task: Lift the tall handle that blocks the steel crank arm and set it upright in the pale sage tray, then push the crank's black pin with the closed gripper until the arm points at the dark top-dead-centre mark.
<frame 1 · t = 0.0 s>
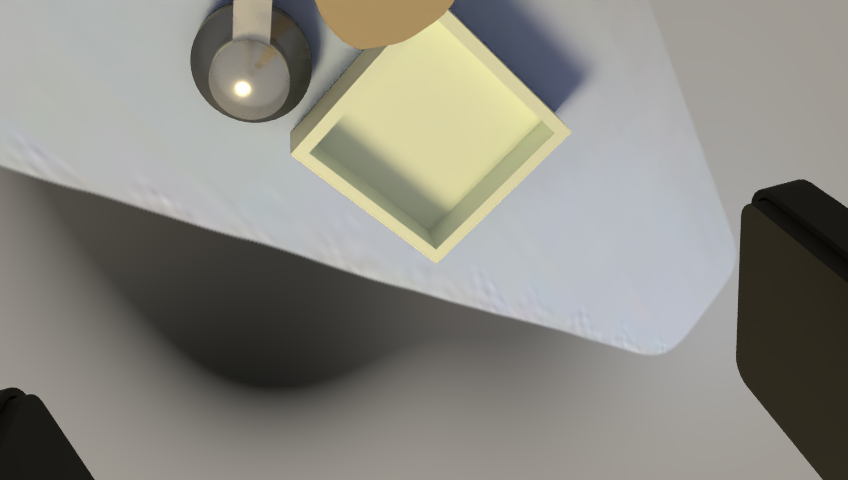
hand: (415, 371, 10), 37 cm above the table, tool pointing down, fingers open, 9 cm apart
tray: (425, 122, 48), on the table
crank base: (253, 59, 44), on the table
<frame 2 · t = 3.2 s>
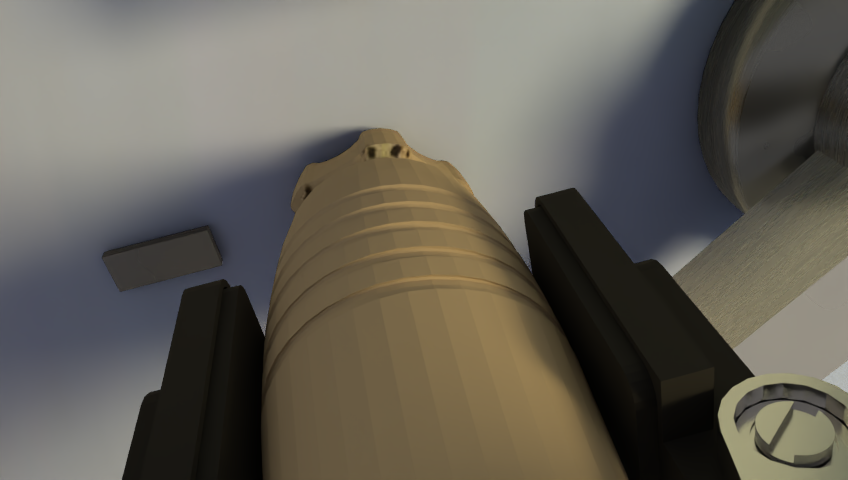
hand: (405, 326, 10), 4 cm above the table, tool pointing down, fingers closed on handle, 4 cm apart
crank: (804, 351, 12), point 4 cm above the table, hinge at 125.0°
handle: (375, 196, 14), on the table, touching gripper
when the fingers open (6 cm above the table, at t = 9.6 s): handle drops 1 cm, resting on tray.
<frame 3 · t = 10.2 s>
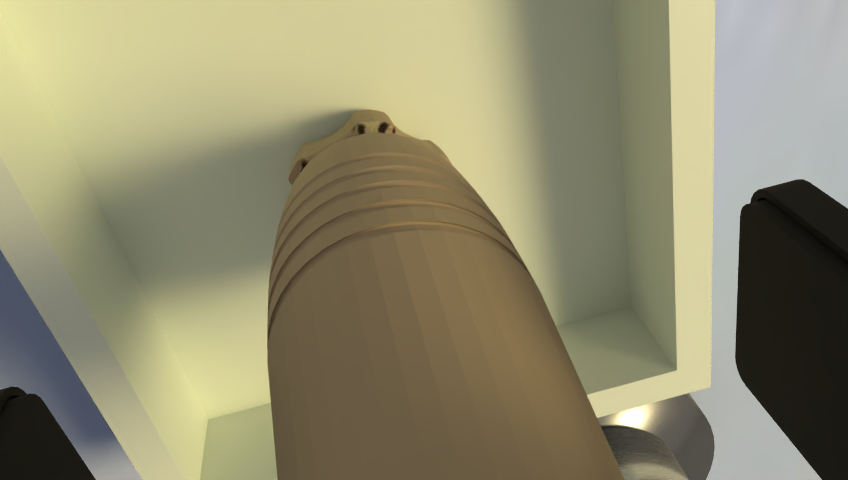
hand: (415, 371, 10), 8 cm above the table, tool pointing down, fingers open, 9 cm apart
tray: (365, 150, 16), on the table
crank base: (580, 441, 22), on the table
handle: (365, 173, 15), point 1 cm above the table, touching tray
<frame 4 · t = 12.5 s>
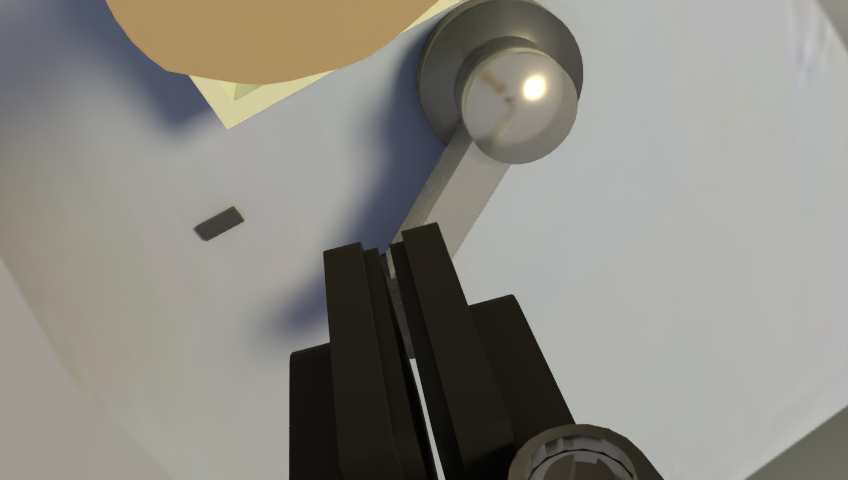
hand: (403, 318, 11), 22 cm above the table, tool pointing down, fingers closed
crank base: (494, 75, 32), on the table
crank: (463, 202, 30), point 4 cm above the table, hinge at 125.0°
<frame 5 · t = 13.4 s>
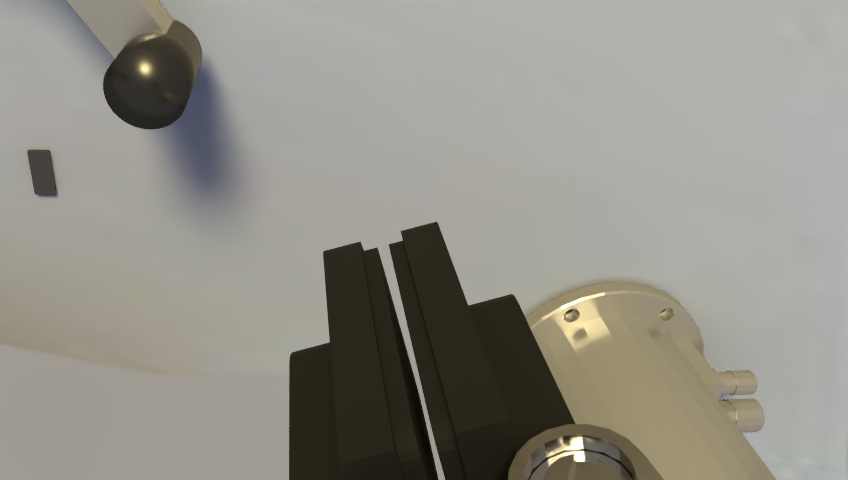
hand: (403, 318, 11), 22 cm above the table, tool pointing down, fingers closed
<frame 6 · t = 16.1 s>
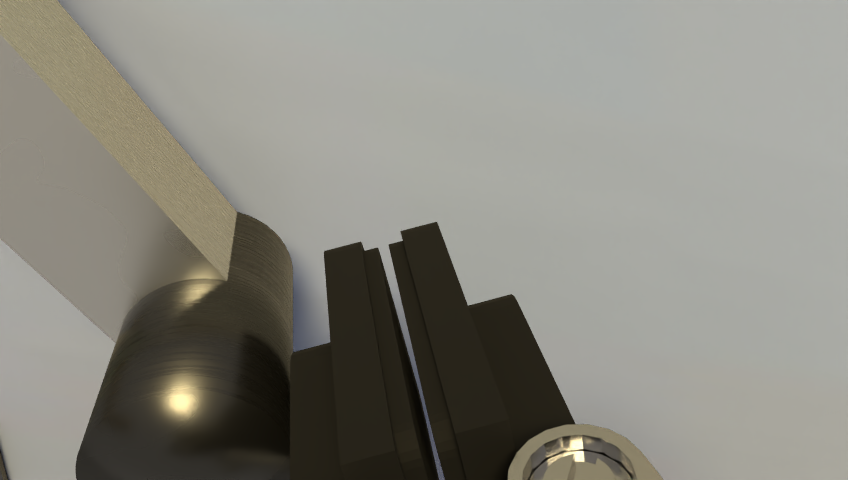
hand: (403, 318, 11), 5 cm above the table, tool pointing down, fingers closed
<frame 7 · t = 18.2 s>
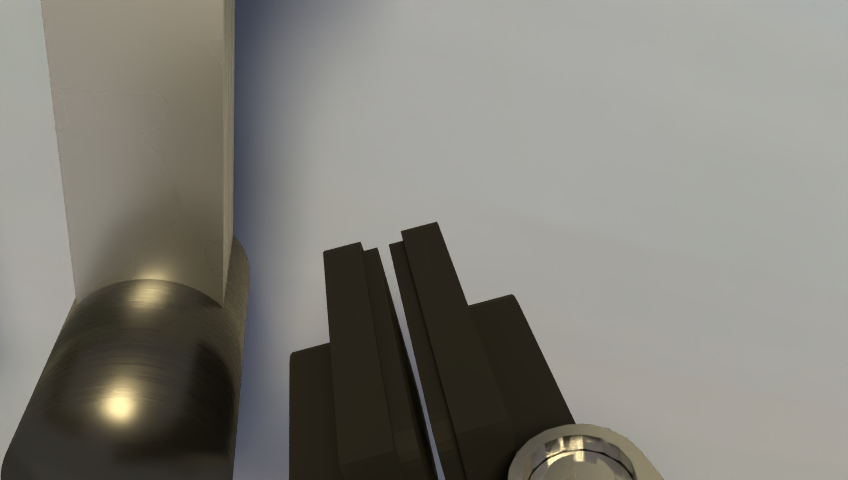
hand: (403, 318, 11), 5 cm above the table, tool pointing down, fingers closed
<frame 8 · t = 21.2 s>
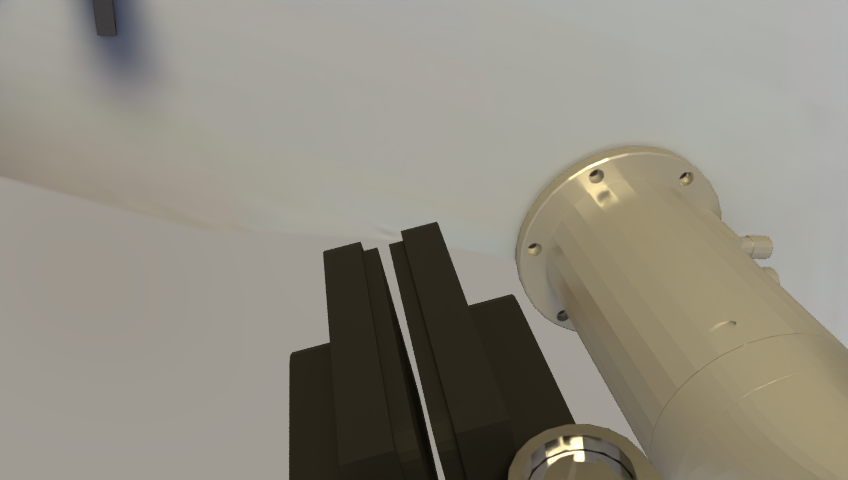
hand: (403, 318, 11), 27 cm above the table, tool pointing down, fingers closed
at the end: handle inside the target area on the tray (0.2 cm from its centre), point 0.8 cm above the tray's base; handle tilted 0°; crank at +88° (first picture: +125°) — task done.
